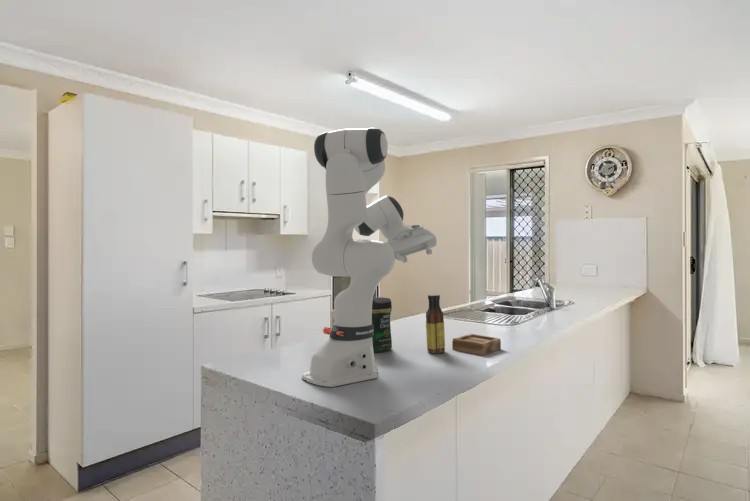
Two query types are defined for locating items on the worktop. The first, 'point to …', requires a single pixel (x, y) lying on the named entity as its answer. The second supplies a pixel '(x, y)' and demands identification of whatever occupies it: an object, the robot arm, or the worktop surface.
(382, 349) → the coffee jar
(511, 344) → the worktop surface
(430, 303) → the sauce bottle
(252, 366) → the worktop surface
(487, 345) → the tray
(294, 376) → the worktop surface
